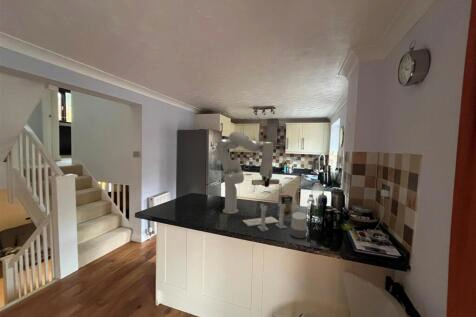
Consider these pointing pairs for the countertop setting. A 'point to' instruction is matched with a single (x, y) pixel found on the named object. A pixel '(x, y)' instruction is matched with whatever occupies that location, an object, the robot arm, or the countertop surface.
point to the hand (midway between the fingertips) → (265, 186)
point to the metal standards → (263, 214)
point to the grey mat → (258, 221)
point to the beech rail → (262, 182)
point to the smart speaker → (299, 225)
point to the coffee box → (288, 208)
